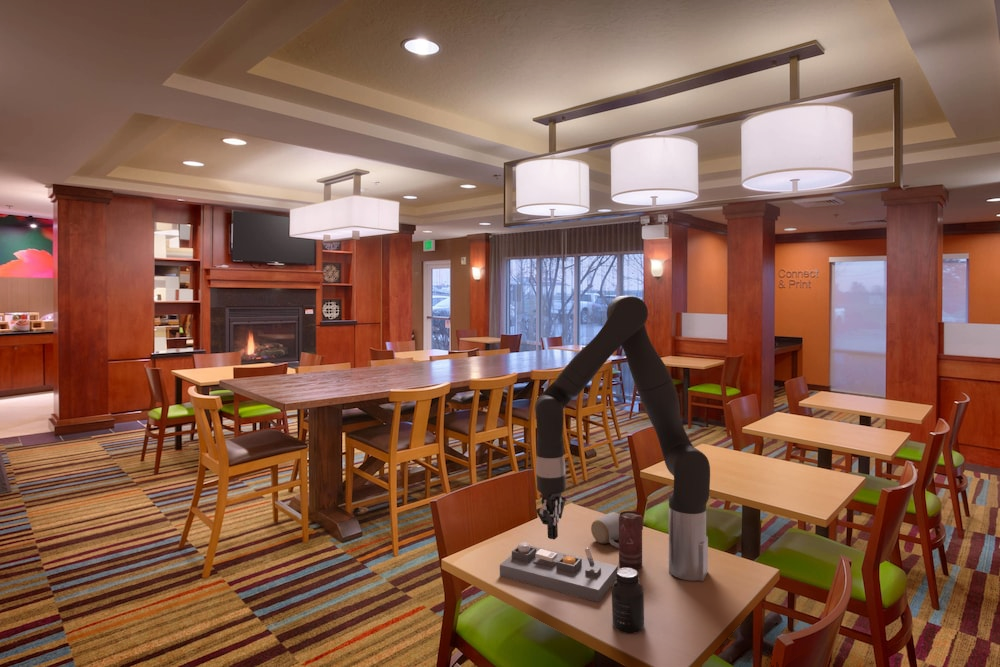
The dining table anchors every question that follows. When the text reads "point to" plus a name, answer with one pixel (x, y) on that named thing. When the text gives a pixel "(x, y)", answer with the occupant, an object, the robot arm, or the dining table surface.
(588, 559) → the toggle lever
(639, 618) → the supplement bottle
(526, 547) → the grey button
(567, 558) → the orange button
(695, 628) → the dining table surface
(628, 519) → the can
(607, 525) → the ceramic mug
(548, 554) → the rocker switch
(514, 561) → the control panel
